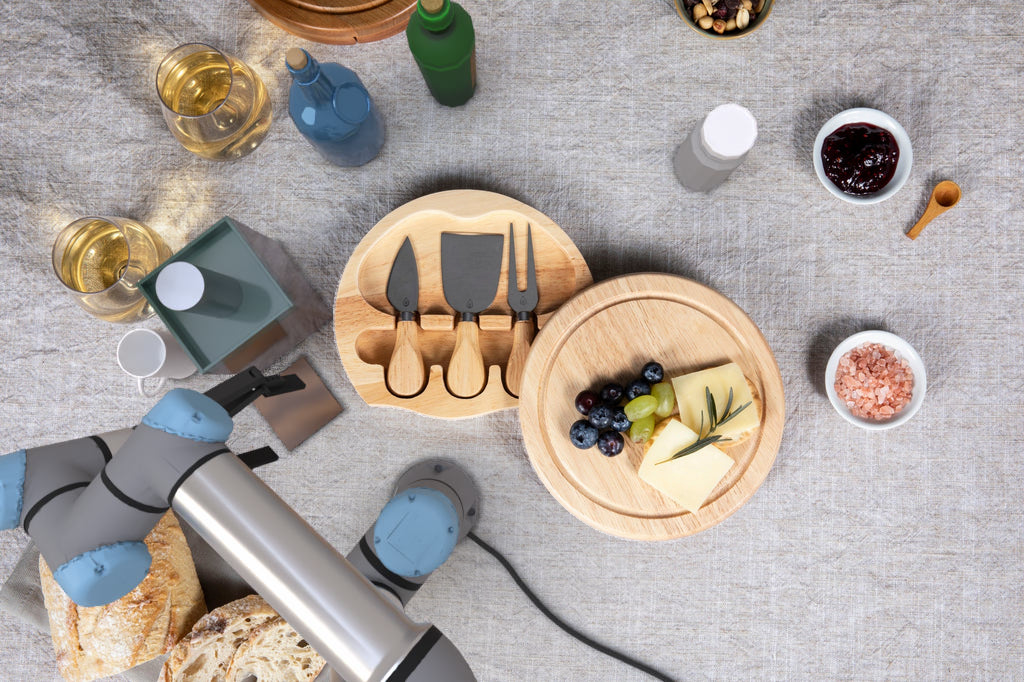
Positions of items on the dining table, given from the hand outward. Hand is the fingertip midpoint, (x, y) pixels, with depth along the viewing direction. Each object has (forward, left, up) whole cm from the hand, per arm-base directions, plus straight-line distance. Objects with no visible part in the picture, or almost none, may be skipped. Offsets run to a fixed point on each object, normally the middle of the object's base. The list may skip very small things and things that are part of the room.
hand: (286, 417), depth 97 cm
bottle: (+33, -53, -22) cm, 66 cm away
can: (+21, -2, -3) cm, 22 cm away
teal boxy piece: (+21, -2, -22) cm, 30 cm away
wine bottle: (+37, -33, -22) cm, 54 cm away
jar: (-6, -79, -22) cm, 82 cm away
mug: (+23, +17, -22) cm, 36 cm away
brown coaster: (+4, +4, -22) cm, 22 cm away
